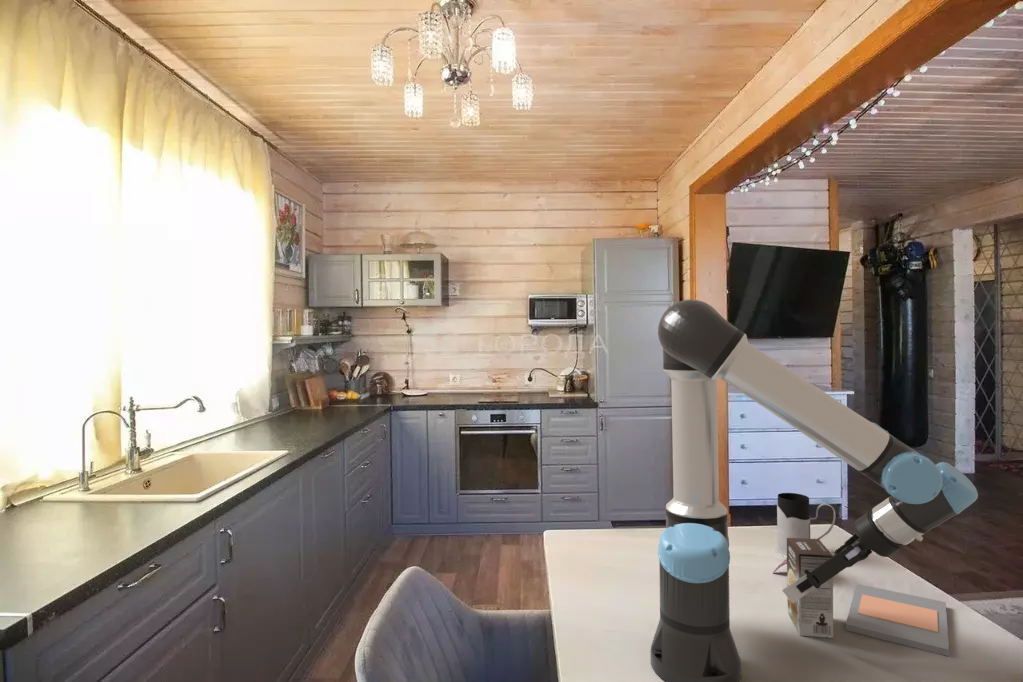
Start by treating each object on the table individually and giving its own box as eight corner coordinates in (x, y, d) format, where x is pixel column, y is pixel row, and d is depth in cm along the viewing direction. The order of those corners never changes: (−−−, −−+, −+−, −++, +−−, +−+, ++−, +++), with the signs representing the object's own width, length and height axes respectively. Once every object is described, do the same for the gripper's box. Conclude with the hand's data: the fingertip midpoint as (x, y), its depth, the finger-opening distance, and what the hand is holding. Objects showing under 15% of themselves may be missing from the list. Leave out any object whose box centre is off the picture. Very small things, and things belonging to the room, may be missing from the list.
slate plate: (949, 656, 101) (948, 648, 101) (845, 630, 111) (845, 623, 111) (945, 607, 119) (945, 601, 119) (856, 588, 128) (856, 582, 128)
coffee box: (786, 613, 118) (785, 536, 118) (819, 615, 117) (818, 538, 116) (799, 636, 109) (798, 553, 109) (835, 639, 108) (834, 555, 107)
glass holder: (774, 545, 156) (773, 491, 155) (832, 551, 151) (831, 495, 151) (777, 557, 147) (776, 499, 147) (839, 563, 143) (838, 504, 142)
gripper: (886, 566, 92) (791, 625, 103) (920, 529, 110) (836, 582, 121) (849, 526, 96) (761, 587, 107) (888, 496, 113) (809, 551, 124)
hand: (800, 585), depth 114 cm, fingers open, 13 cm apart
